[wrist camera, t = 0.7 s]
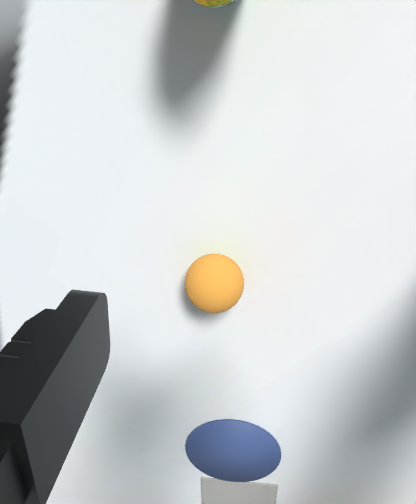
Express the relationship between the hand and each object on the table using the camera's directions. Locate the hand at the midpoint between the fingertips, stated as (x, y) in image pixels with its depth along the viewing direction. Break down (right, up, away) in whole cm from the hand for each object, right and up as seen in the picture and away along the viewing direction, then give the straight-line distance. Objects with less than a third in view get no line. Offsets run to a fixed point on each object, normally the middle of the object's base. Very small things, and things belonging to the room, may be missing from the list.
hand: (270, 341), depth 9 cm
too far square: (+3, -36, +48) cm, 60 cm away
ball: (-1, -1, +27) cm, 27 cm away
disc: (+2, -25, +43) cm, 50 cm away
